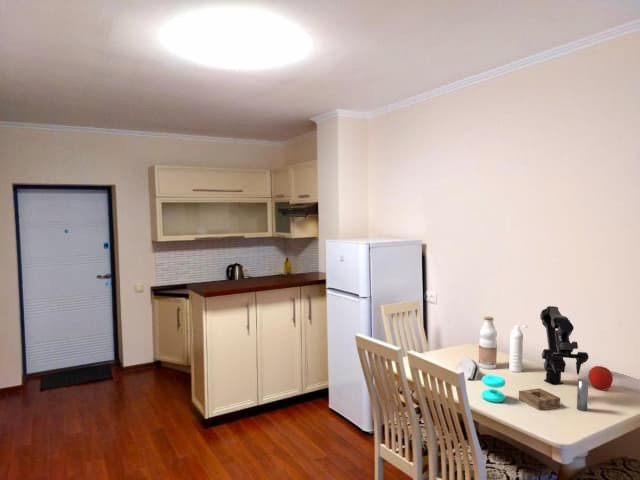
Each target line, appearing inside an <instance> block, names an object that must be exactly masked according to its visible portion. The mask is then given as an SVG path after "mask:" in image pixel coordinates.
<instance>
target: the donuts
mask: <svg viewBox="0 0 640 480" xmlns="http://www.w3.org/2000/svg"><path fill="white" fill-rule="evenodd" d="M481 380H482V383H483V384H484V385H485V386H487V387H489V388H487V389H485V390H483V391H482V392H481V397H482V398H483V400H485V401H487V402H490V403H502V402H504V400H505V399H506V396H505V394H504V393H503V392H502V391H500V390H497V389H498V388H503V387H504V386H505V385H506V380H505V379H504V377H502V376H499V375H495V374H487V375H484V376H482V378H481Z"/></svg>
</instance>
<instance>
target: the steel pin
mask: <svg viewBox="0 0 640 480" xmlns="http://www.w3.org/2000/svg"><path fill="white" fill-rule="evenodd" d="M576 392H577V393H576V394H577V397H576V410H577V411H581V412H587V411H588V401H589V399H588V397H589V396H588V395H589V379H588V380H587V379H584V378H578V379H577V391H576Z"/></svg>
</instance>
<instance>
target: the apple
mask: <svg viewBox="0 0 640 480" xmlns="http://www.w3.org/2000/svg"><path fill="white" fill-rule="evenodd" d="M613 378H614V375H613V374H612V372H611V370H610V369H608V368H607V367H605V366H602V365H600V366H599V365H595V366H593V367H591V368H590V369H589V371H588V381H589V383H590V385H591V386H592V387H593V388H594V389H596V390H599V389H600V391H606V390H608V389H610V388H611V386H612V383H613V381H614V379H613ZM605 389H606V390H605Z"/></svg>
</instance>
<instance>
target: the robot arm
mask: <svg viewBox="0 0 640 480" xmlns="http://www.w3.org/2000/svg"><path fill="white" fill-rule="evenodd" d="M539 316H540V318H539V319H540V321H541V324H542V325H543V326H544V328H545V330H546V338H547V339H546V340H547V346H548V347H547V348H544V349H543V350H542V352H541V359H543V360H544V363H543V369H544V370H545V372H546V373H545V379H543V381H544V382H546V383H548V384H550V385H561V384H562V385H563V384H564V382H563V381H562V373H565V369H566V365H567V363H566V361H565V359H567V358H568V359H575V360H576V361H575V369H576V374H577V376H579V374H580V371H581V367H582V365H583V364H584V363H587V361H588V360H589V357H590V356H589V354H588V352H586V351H578V352H577V353H573V351H574V350H577V349H578V348H579V345H578V342H577V341H572V342H571V341H570V337H571V334H572V332H573V331H574V325H573V323H572V322H571V321H570V319H569V318H568V317H567V316H565V315H562V313H561V312H560V311H559V307H557V306H553V305H552V306H551V305H548V306H546V307H545V308H544V309H542V310H541V312H540V315H539ZM564 358H565V359H564Z"/></svg>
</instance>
